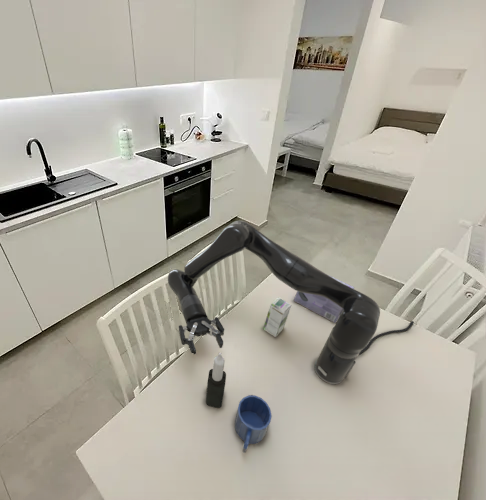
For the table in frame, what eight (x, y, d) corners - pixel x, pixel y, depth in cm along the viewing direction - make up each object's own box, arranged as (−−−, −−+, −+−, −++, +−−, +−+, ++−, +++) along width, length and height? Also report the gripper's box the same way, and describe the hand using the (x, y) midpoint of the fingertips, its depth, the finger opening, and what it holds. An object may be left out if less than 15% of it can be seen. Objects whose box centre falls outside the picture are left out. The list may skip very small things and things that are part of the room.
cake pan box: (342, 318, 117) (357, 287, 106) (337, 325, 114) (353, 294, 103) (297, 295, 127) (308, 264, 116) (292, 301, 124) (303, 270, 113)
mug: (239, 405, 88) (242, 390, 83) (268, 418, 86) (274, 403, 80) (227, 448, 79) (230, 434, 74) (259, 463, 76) (265, 450, 71)
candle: (221, 408, 88) (228, 363, 73) (205, 405, 88) (209, 359, 73) (223, 392, 92) (230, 346, 77) (207, 389, 92) (211, 343, 77)
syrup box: (270, 321, 115) (277, 296, 106) (283, 329, 112) (292, 304, 103) (262, 329, 112) (269, 304, 103) (276, 338, 108) (284, 313, 100)
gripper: (173, 307, 96) (186, 348, 83) (212, 299, 99) (231, 336, 86) (173, 322, 100) (186, 362, 88) (211, 313, 103) (228, 351, 91)
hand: (208, 349), depth 87 cm, fingers open, 8 cm apart
